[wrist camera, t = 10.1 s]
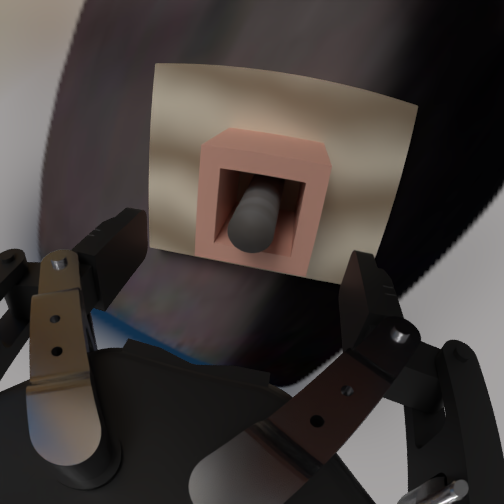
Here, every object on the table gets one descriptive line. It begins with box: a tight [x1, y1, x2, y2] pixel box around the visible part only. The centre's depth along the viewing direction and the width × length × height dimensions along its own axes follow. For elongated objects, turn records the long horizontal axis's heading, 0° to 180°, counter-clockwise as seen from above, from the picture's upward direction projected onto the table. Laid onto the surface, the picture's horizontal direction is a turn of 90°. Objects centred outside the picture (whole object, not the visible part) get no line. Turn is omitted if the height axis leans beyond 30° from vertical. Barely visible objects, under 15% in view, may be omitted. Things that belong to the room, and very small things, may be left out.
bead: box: [195, 128, 332, 277], centre depth 18 cm, size 6×6×6 cm
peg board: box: [149, 64, 418, 284], centre depth 18 cm, size 14×17×10 cm
